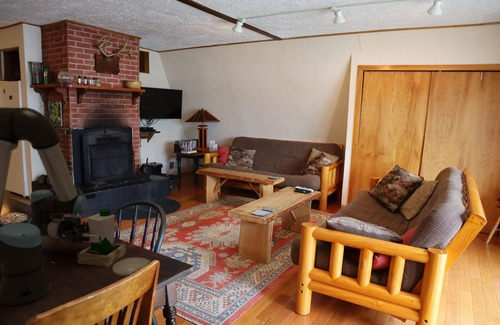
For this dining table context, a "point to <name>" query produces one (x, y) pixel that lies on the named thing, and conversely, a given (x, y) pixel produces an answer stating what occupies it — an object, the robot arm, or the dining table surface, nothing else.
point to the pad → (129, 266)
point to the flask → (73, 218)
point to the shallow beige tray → (102, 256)
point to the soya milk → (102, 232)
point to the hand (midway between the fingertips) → (108, 233)
